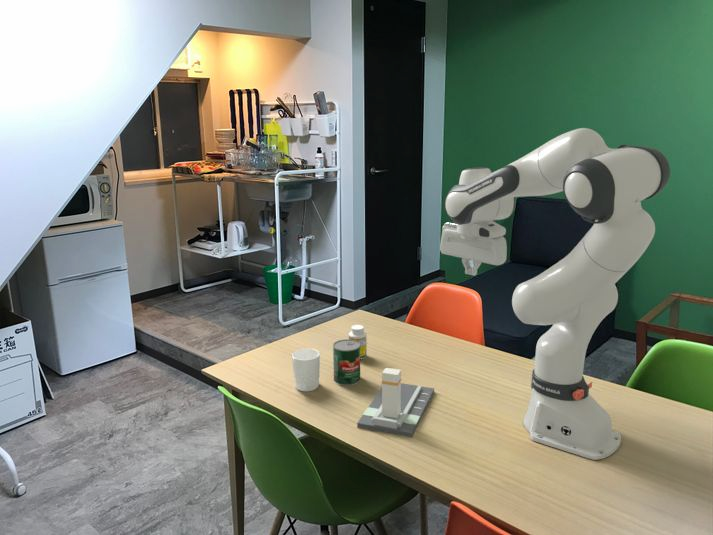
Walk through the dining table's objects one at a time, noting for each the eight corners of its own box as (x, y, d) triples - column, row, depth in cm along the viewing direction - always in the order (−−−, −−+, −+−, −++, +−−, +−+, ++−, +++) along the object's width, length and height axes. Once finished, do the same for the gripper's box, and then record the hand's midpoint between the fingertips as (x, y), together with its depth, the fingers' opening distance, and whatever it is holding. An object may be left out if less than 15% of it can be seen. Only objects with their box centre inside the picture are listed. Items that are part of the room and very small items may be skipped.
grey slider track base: (434, 392, 161) (434, 382, 160) (411, 437, 139) (411, 426, 138) (386, 384, 166) (386, 375, 165) (357, 427, 144) (357, 416, 143)
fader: (400, 412, 147) (401, 369, 144) (397, 418, 145) (397, 375, 141) (385, 410, 149) (385, 367, 145) (381, 415, 146) (381, 372, 143)
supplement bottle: (346, 355, 185) (345, 325, 182) (361, 352, 188) (361, 322, 185) (354, 362, 180) (353, 331, 178) (369, 358, 183) (369, 328, 180)
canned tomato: (348, 388, 164) (347, 352, 161) (328, 380, 169) (327, 345, 166) (366, 378, 170) (365, 343, 167) (346, 370, 175) (345, 337, 172)
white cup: (319, 392, 161) (318, 360, 159) (291, 392, 162) (290, 360, 159) (321, 379, 169) (320, 348, 166) (295, 379, 169) (293, 348, 167)
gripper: (436, 222, 164) (434, 269, 168) (498, 233, 150) (495, 284, 153) (449, 219, 168) (448, 265, 172) (511, 229, 154) (508, 279, 157)
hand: (470, 274), depth 162 cm, fingers closed
